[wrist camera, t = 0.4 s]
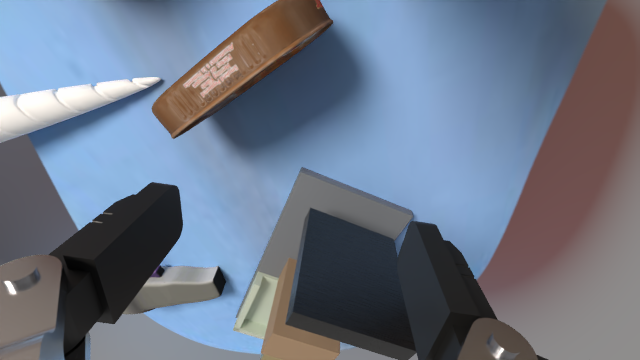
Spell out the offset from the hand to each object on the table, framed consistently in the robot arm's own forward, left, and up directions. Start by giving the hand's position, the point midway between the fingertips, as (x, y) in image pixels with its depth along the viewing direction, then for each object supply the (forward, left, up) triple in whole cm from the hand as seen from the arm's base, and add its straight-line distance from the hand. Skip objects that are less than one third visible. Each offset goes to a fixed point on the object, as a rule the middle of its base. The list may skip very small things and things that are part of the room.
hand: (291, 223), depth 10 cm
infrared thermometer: (+29, -11, -19) cm, 37 cm away
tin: (0, -7, -19) cm, 20 cm away
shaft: (+19, +7, -14) cm, 25 cm away
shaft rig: (+22, +7, -18) cm, 30 cm away
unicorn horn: (+12, -25, -19) cm, 33 cm away
